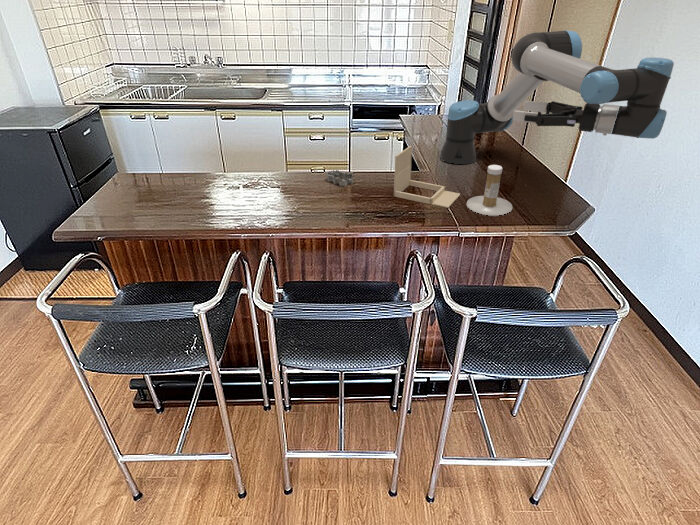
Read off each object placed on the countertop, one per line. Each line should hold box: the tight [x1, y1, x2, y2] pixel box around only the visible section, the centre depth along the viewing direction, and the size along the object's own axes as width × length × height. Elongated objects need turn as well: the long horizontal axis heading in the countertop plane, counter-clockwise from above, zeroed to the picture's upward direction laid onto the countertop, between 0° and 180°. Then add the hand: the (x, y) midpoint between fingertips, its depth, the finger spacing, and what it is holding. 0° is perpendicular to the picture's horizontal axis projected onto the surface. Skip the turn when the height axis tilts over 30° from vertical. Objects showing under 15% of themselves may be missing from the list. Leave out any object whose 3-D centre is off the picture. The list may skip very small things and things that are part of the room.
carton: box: [393, 145, 461, 209], centre depth 154 cm, size 21×13×15 cm, turn 59°
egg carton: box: [324, 169, 356, 187], centre depth 170 cm, size 11×8×4 cm
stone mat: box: [466, 195, 513, 217], centre depth 149 cm, size 15×15×1 cm
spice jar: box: [483, 164, 503, 207], centre depth 145 cm, size 5×5×14 cm
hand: (518, 110), depth 131 cm, fingers open, 13 cm apart
